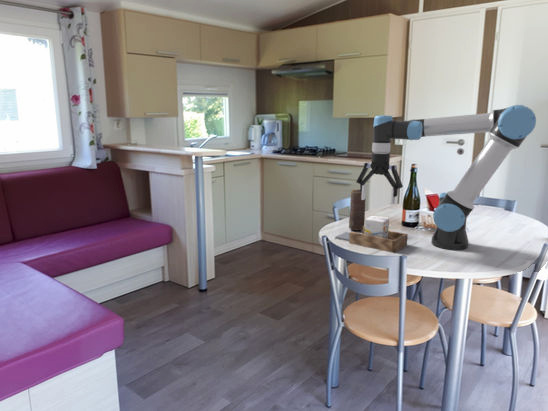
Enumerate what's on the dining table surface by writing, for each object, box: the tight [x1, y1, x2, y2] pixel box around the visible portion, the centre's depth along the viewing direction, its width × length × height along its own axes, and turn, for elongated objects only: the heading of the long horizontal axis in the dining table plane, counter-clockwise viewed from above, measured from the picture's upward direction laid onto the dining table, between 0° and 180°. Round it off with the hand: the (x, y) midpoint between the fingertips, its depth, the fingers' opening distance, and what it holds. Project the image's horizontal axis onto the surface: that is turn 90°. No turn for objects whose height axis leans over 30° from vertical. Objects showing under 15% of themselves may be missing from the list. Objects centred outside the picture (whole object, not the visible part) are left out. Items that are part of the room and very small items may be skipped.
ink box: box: [364, 215, 390, 239], centre depth 194 cm, size 9×8×12 cm
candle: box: [348, 189, 367, 231], centre depth 214 cm, size 8×7×20 cm
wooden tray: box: [348, 225, 409, 254], centre depth 195 cm, size 21×13×5 cm, turn 52°
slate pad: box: [334, 231, 350, 242], centre depth 204 cm, size 8×10×1 cm
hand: (377, 201), depth 192 cm, fingers open, 13 cm apart
